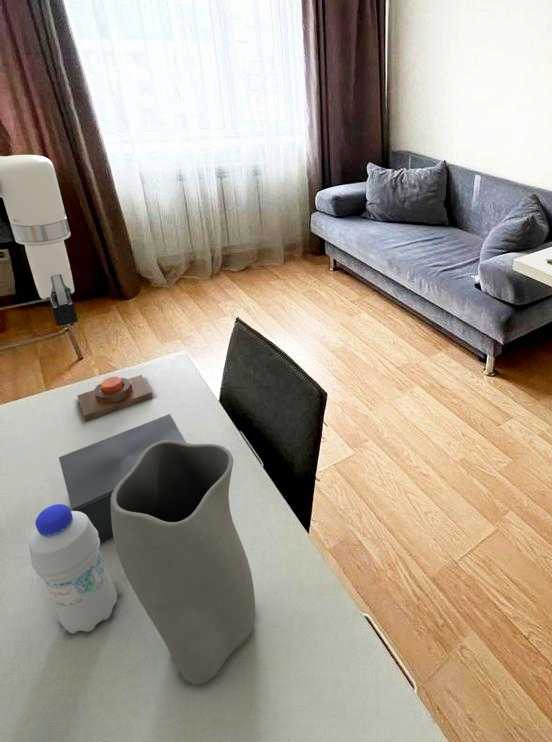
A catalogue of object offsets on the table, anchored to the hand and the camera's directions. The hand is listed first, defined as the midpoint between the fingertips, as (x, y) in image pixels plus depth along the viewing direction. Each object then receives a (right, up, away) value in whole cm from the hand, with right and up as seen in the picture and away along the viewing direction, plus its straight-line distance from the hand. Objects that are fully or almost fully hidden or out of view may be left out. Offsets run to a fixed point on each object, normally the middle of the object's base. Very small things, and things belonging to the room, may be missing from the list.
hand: (66, 322), depth 92 cm
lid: (+19, -21, -12) cm, 31 cm away
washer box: (+18, -30, -8) cm, 36 cm away
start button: (0, -15, +12) cm, 19 cm away
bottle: (+23, -38, -25) cm, 51 cm away
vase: (+40, -40, -27) cm, 63 cm away
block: (0, -18, +14) cm, 23 cm away
